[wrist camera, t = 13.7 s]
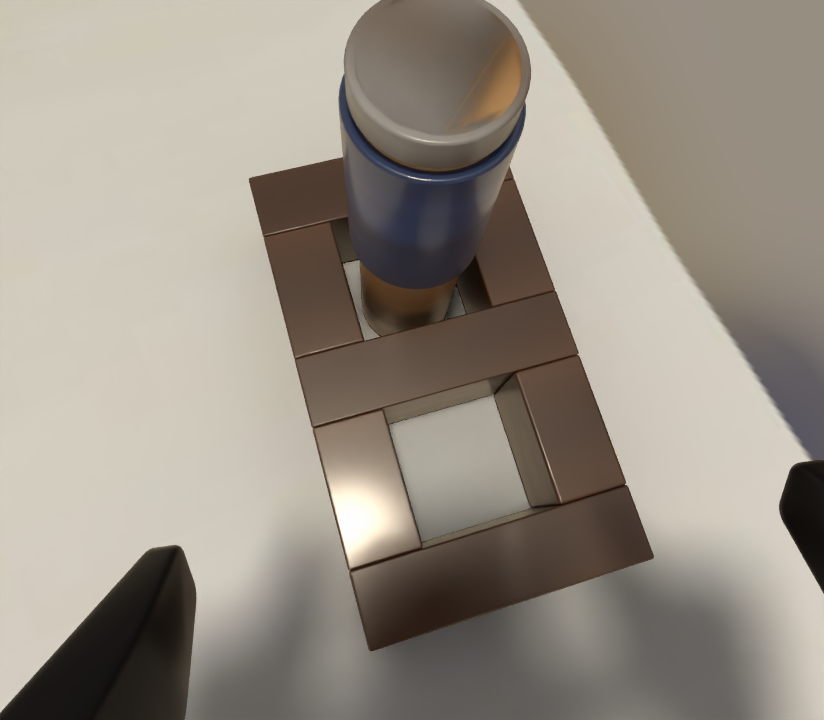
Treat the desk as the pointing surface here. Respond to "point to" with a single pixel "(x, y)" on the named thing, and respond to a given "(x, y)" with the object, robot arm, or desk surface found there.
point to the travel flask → (426, 146)
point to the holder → (436, 389)
